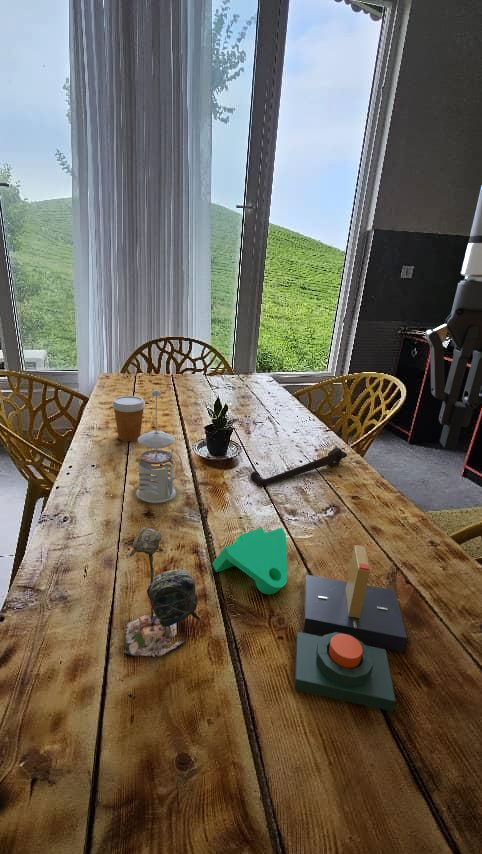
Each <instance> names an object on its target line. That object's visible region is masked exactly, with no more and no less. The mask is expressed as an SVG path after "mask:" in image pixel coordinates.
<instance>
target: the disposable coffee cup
mask: <svg viewBox="0 0 482 854" xmlns="http://www.w3.org/2000/svg"><path fill="white" fill-rule="evenodd" d="M111 405H112V409H113V412H114V417H115V424H116V429H117V435H118V440H120V441H122V442H135V441H138V438H139V437H140V436H141V435H142V425H143V417H144V408H145V406H146V403H145V401H144V398H142V397H140V396H137V395H136V396H135V395H122V396H117V397H116V398H114V399H113V401H112V404H111Z"/></svg>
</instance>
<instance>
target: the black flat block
mask: <svg viewBox="0 0 482 854" xmlns="http://www.w3.org/2000/svg"><path fill="white" fill-rule="evenodd" d="M346 585H347V581H345V580H339V579H333V578H329V577H322V576H316V575H310V574H305V579H304V585H303V613H302V615H303V621H302V633H306V634H311V635H316V636H321V637H323V636H324V635H327V634H331V633H335V632H338V633H343V634H348V635H351V636H353V637H354V638H356V639H358V640H359V641H361V642H363V643H364V645H366V646H371V647H376V648H381V649H385V650H392V651H397V652H402V653H403V652H404V650H405V648H406V643H407V639H408V636H407V632H406V628H405V624H404V620H403V616H402V613H401V612H402V611H401V609H400V608H401V607H400V605H399V601H398V597H397V594H396V590H395V589H390V588H385V587H380V586H374V585H368V584H367V588H366V592H365V597H364V601H363V605H362V610H361V614H360V618H355V617H350V616H348V607H347V597H346Z"/></svg>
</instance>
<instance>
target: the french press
mask: <svg viewBox="0 0 482 854" xmlns="http://www.w3.org/2000/svg"><path fill="white" fill-rule="evenodd" d="M151 396H153V397H155V430H152V431H147V432H145V433H143V434H140V437H139V438H138V440H137V442H138V443H139V445H140V446H142V447H144V448H148V449H149V450H146V451H144V452H142V453H141V454H140V456H139V458H140V460H139V462H138V489H137V490H136V493H135V495H136V496H137V498H138V499H140V500H142V501H143V502H146V503H154V504H155V503H156V504H158V503H166V502H168V501H170V500H173V498H174V497H175V496H176V494H177V493H176V492H177V491H176V490H175V488H174V481H175V480H176V479H178V478H180V477H181V475H182V473H183V460H182V457H181V455H180V453H179V452H178V451H177V450H176V449H174V448H171V451H170V450H169V451H168V450H162V449H165V448H168V447H170V446H172V445H173V444H174V442H175V437H174V436H173V435H172V434H169V433H167V432H165V431H162V430H158V413H157V412H158V397H162V392H161V391H160V389H154V390H153V391H152V392H151ZM174 452H175V453H176V455H177V457H178V459H179V461H180V472H179V474H178V463H177V461H176V458H175V456H174V454H173V453H174ZM174 462H175V470H176V471H175V475H174ZM154 465H155V466H154ZM177 475H178V476H177Z"/></svg>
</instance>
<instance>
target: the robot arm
mask: <svg viewBox="0 0 482 854" xmlns="http://www.w3.org/2000/svg"><path fill="white" fill-rule="evenodd" d="M460 275H461V276H462V277H464V278H463V280H460V281H459V282H457V287H456V292H455V295H454V300H453V304H452V308H451V311H450V314H449V315H448V316H447V318H445V321H444V324H442V325H440V326H437V327H436V328H434V329H432V328H431V329H427V330H426V331H425V332H424V336H425V338H426V341H427V343H428V345H429V358H430V359H429V360H430V361H429V362H430V365H429V366H430V393H431V395H432V396H433V397H434V398H435V399H437V400H439V401H442V404H441V408H440V411H439V415H438V421H439V423H440V424H441V425H443V428H442V431H441V435H440V438H439V442H440V444H441V445H442V447H443V448H444V449H449V450H450V449H451V450H456V448H457V445H458V441H459V438H460V433H461V430H462V428H468V426H469V425H470V423H471V419H472V417H473V413H474V410H475V409H477V408H478V407H479V405H482V186H481V187H480V191H479V195H478V200H477V204H476V207H475V212H474V217H473V221H472V225H471V230H470V234H469V238H468V243H467V247H466V250H465V255H464V259H463V261H462V266H461V270H460ZM447 334H448V336H449V338H450V340H451V342H452V344H453V346H454V348H453V356H452V360H451V364H450V367H449V372H448V376H447V380H446V384H445V348H444V343H445V342H446V340H447ZM471 355H472V359H471V363H470V367H469V371H468V375H467V378H466V382H465V386H464V390H463V393H462V397H461V400H462V401H458V399H459V395H460V391H461V388H462V385H463V380H464V377H465V372H466V369H467V367H468V362H469V360H470V358H471Z"/></svg>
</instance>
